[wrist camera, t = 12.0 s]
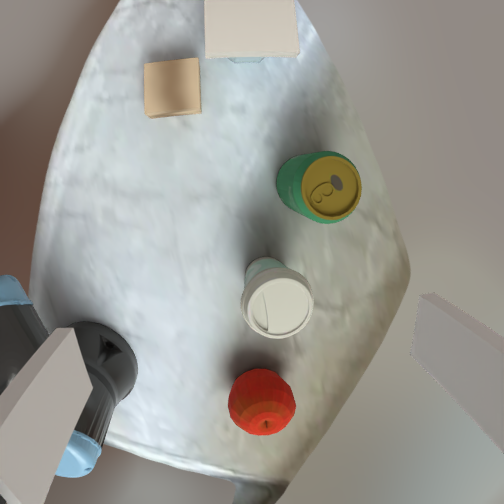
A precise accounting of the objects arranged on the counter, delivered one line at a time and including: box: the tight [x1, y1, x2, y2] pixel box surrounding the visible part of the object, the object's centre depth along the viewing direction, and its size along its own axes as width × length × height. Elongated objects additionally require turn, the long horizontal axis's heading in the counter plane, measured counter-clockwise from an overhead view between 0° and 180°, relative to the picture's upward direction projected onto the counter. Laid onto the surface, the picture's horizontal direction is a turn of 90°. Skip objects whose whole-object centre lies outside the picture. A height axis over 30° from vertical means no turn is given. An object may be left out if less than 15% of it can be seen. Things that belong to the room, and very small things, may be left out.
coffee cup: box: [241, 257, 314, 339], centre depth 41 cm, size 9×8×12 cm
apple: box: [228, 369, 296, 435], centre depth 46 cm, size 10×10×12 cm
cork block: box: [144, 58, 201, 119], centre depth 38 cm, size 7×7×4 cm
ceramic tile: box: [204, 0, 300, 59], centre depth 32 cm, size 11×11×2 cm
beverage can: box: [277, 151, 362, 224], centre depth 39 cm, size 8×8×12 cm
